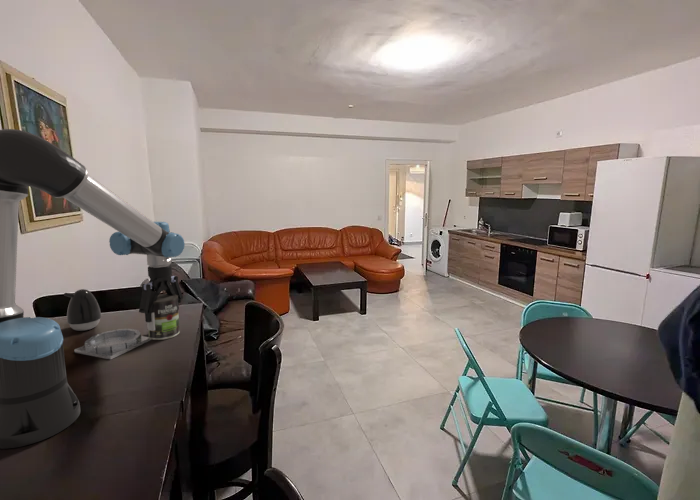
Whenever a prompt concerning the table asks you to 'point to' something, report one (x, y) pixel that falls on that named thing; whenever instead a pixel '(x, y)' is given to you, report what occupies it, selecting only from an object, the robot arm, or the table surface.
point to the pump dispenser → (83, 310)
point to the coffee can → (165, 317)
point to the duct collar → (112, 343)
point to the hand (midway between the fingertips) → (163, 324)
